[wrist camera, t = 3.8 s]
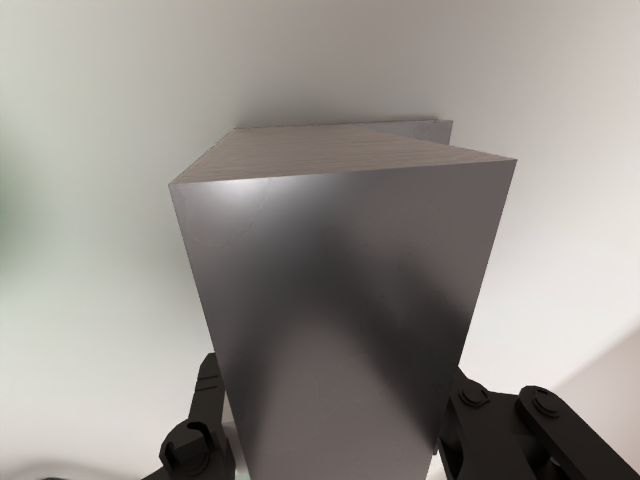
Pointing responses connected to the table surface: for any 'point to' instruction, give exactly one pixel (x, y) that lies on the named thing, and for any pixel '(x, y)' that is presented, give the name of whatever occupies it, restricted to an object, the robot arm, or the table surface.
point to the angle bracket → (340, 287)
